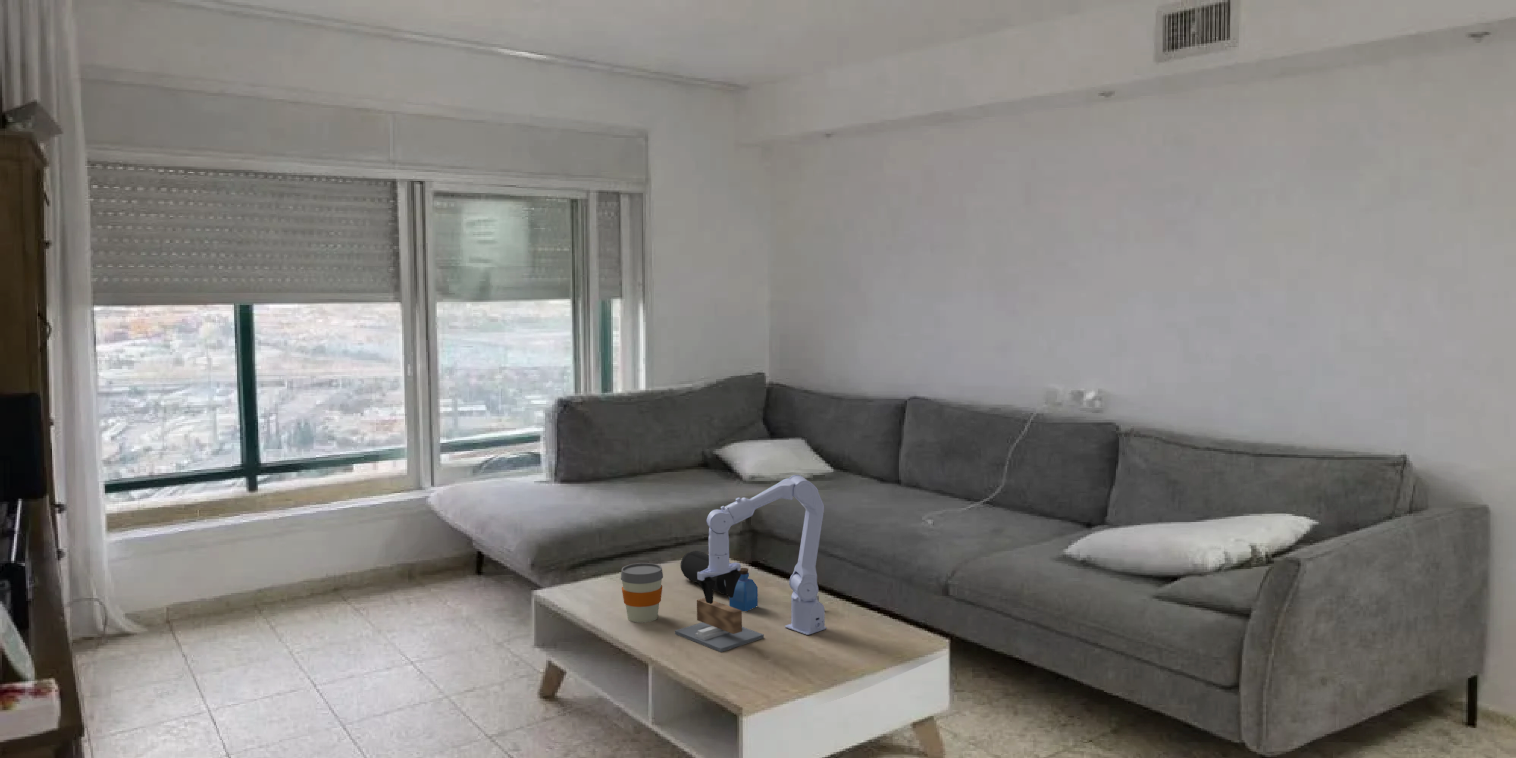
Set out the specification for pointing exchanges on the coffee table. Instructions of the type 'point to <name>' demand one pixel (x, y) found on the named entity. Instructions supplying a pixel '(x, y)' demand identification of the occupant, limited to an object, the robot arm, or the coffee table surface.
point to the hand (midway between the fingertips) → (719, 599)
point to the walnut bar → (719, 616)
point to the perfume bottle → (744, 593)
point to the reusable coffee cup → (642, 591)
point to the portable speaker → (700, 569)
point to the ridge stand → (718, 636)
